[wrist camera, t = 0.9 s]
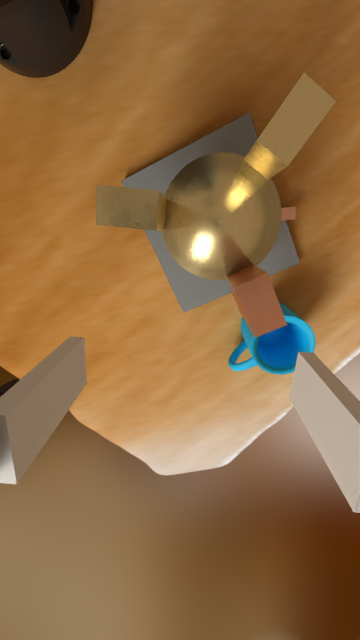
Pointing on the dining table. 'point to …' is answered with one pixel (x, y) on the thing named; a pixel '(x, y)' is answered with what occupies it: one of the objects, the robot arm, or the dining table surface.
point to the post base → (159, 177)
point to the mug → (275, 345)
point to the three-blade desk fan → (227, 207)
